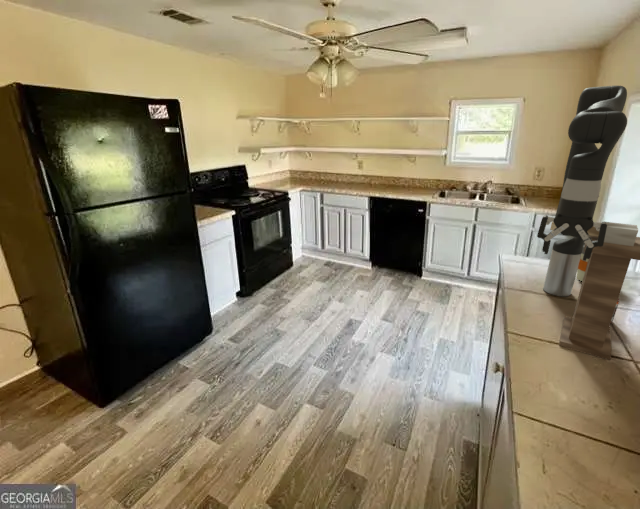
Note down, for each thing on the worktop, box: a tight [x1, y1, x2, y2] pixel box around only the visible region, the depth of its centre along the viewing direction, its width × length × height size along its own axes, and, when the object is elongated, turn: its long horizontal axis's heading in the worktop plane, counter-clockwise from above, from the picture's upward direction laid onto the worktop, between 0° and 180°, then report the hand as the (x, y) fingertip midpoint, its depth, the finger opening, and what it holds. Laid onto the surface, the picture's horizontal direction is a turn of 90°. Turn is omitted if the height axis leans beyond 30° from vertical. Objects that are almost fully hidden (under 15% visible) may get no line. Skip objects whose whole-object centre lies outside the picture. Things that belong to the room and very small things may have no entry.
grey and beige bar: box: [550, 221, 639, 246], centre depth 96 cm, size 6×19×4 cm, turn 52°
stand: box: [558, 235, 640, 361], centre depth 100 cm, size 18×12×32 cm, turn 142°
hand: (564, 256), depth 91 cm, fingers open, 8 cm apart
